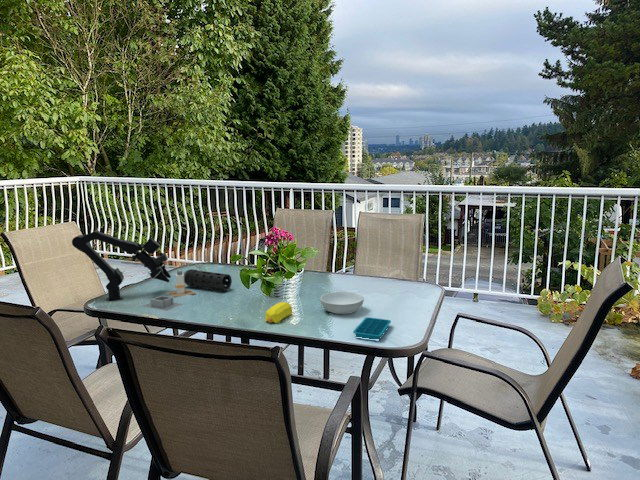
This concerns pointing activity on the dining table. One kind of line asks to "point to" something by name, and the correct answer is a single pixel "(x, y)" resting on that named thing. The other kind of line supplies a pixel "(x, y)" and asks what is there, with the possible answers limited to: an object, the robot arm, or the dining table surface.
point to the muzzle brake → (207, 280)
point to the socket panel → (162, 303)
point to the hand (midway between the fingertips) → (169, 279)
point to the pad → (187, 292)
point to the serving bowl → (342, 302)
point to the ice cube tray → (372, 328)
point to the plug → (180, 283)
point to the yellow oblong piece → (278, 312)
